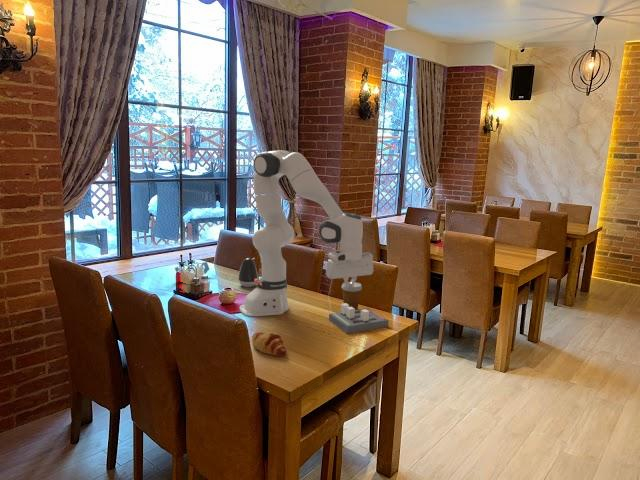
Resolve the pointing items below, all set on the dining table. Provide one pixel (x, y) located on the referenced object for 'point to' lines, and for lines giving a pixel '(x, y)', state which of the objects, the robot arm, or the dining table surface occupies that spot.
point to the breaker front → (364, 315)
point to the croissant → (269, 343)
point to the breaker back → (344, 308)
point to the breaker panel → (358, 321)
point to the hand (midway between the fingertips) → (349, 287)
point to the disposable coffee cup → (352, 295)
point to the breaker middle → (350, 312)
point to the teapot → (196, 263)
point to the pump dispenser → (248, 273)
